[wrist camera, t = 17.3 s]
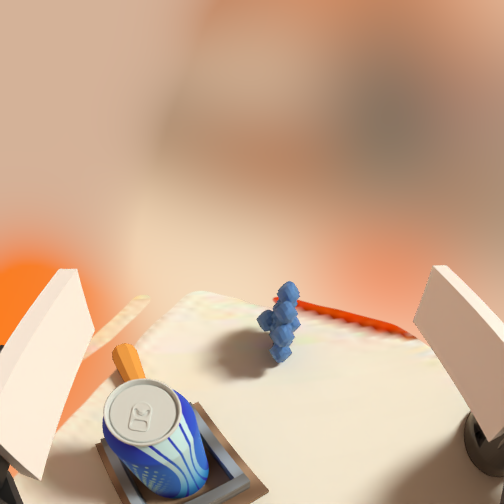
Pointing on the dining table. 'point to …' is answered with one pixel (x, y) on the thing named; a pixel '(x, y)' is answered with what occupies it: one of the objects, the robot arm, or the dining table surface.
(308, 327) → the dining table surface
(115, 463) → the holder
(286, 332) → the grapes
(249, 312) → the dining table surface
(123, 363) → the carrot
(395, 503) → the dining table surface
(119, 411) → the beer can
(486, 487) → the dining table surface
